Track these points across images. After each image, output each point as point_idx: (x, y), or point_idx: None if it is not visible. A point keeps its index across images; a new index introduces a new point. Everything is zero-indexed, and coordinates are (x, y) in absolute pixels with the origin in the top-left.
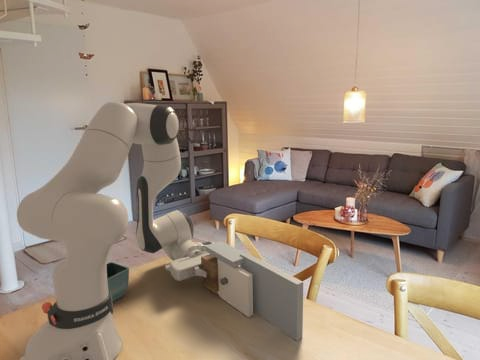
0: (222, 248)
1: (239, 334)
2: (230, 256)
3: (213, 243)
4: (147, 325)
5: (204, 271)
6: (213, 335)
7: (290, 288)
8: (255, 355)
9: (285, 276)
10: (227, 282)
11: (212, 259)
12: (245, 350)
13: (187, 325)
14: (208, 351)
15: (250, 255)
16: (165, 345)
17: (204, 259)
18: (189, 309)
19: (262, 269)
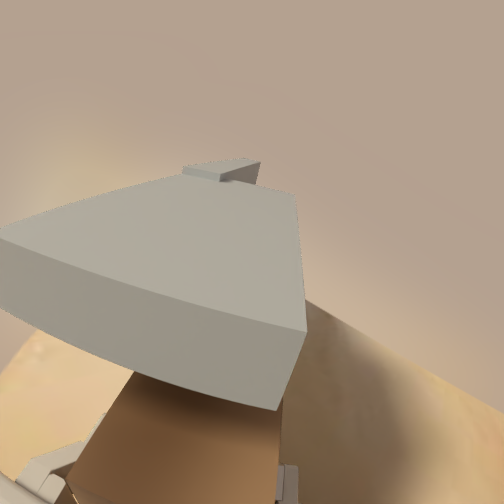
0: (198, 211)
1: (306, 340)
2: (263, 195)
3: (106, 274)
4: (499, 488)
5: (292, 477)
6: (360, 373)
7: (254, 179)
8: (317, 306)
9: (250, 161)
10: None
11: (219, 398)
12: (325, 318)
13: (406, 436)
14: (388, 354)
15: (202, 165)
16: (463, 410)
17: (275, 472)
18: (371, 500)
19: (243, 177)
